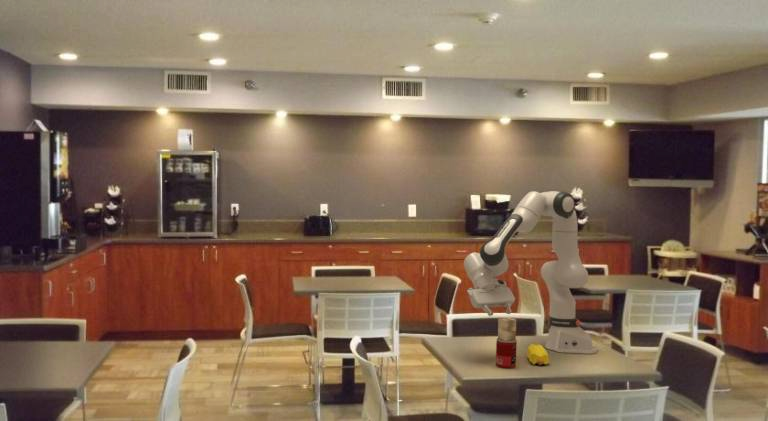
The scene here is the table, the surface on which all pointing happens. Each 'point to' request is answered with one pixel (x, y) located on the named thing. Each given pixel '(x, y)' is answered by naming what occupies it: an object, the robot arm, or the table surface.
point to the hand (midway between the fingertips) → (500, 314)
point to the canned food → (506, 353)
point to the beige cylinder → (506, 329)
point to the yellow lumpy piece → (537, 354)
